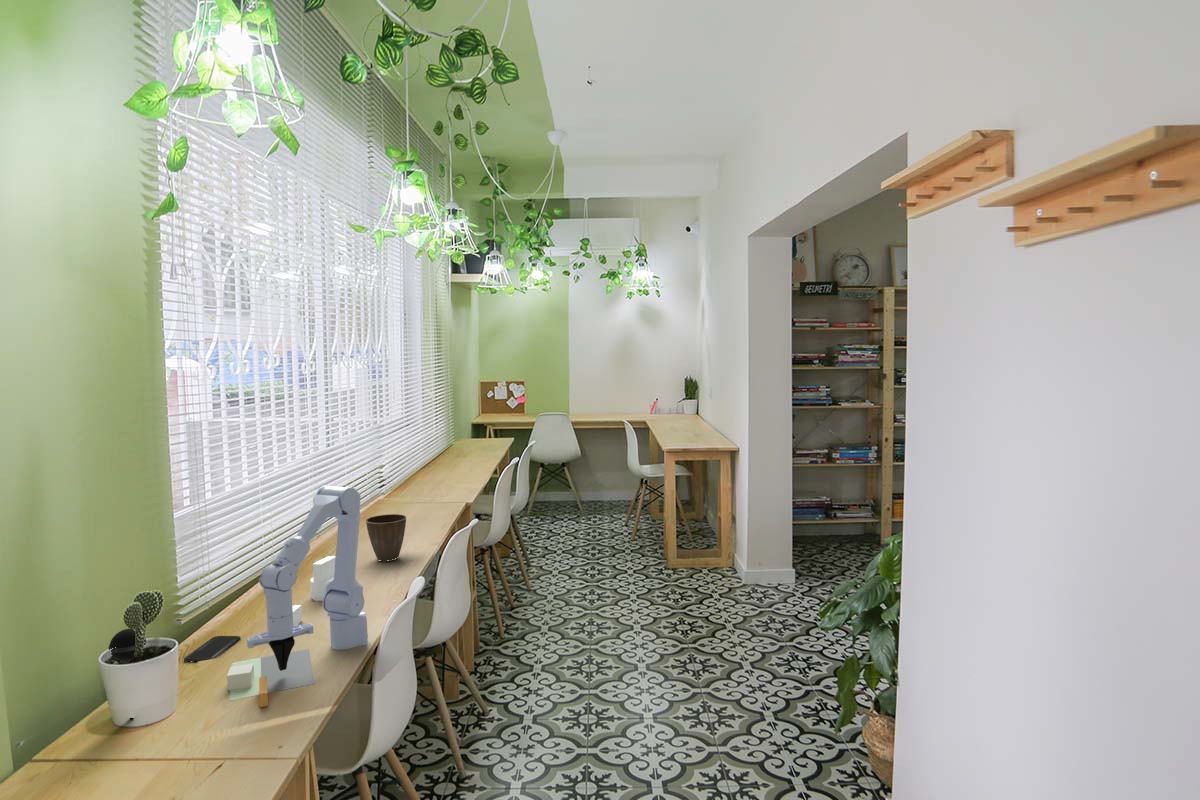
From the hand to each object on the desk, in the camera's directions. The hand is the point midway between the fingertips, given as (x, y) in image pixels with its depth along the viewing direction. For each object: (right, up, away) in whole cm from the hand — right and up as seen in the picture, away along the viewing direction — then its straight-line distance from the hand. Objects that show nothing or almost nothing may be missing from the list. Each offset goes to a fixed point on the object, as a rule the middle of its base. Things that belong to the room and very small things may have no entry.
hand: (282, 668), depth 170 cm
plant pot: (-5, +4, +100) cm, 101 cm away
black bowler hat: (-25, -5, -17) cm, 31 cm away
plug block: (-8, -2, -3) cm, 9 cm away
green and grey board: (-4, -3, +2) cm, 5 cm away
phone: (-27, -3, +19) cm, 33 cm away
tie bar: (+1, -2, -11) cm, 11 cm away
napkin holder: (-14, -2, +32) cm, 35 cm away
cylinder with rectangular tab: (-13, +1, +60) cm, 61 cm away
